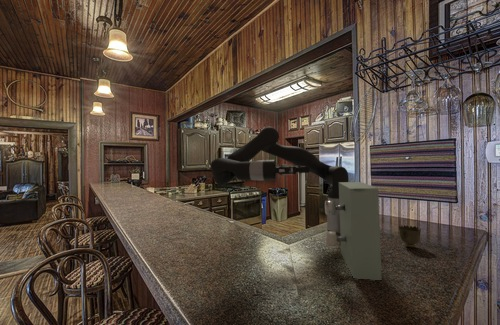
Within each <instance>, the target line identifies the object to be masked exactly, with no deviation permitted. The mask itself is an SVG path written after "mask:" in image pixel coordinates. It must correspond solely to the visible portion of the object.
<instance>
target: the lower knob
mask: <svg viewBox="0 0 500 325" xmlns="http://www.w3.org/2000/svg"><path fill="white" fill-rule="evenodd" d="M325 241H326V242H325V243H326V247H338V246H337V245H338V242H340V243H341V242H346V237H341V236H337V233H336V232H332V231H330V230H328V231H325Z"/></svg>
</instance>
